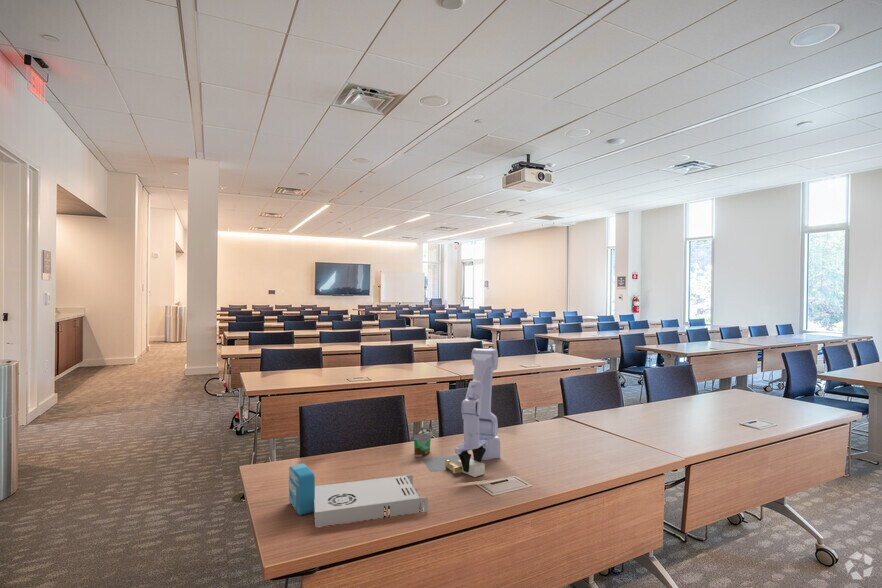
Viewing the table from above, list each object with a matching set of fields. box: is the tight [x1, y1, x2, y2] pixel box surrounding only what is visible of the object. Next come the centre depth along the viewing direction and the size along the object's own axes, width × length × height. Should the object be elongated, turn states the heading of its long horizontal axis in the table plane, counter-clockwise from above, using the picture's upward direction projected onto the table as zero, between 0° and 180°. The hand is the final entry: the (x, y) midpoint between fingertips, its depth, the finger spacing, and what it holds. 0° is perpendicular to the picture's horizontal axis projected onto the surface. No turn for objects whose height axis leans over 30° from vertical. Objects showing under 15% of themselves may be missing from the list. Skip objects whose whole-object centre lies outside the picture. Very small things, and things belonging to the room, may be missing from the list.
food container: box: [413, 426, 433, 458], centre depth 190 cm, size 12×6×10 cm, turn 168°
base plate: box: [421, 454, 460, 473], centre depth 178 cm, size 16×14×1 cm
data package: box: [288, 463, 316, 516], centre depth 143 cm, size 12×4×12 cm, turn 33°
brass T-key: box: [445, 459, 463, 474], centre depth 170 cm, size 8×3×3 cm, turn 31°
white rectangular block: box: [458, 458, 486, 478], centre depth 168 cm, size 5×9×4 cm, turn 40°
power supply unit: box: [313, 474, 429, 528], centre depth 144 cm, size 19×33×5 cm, turn 107°
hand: (471, 469), depth 168 cm, fingers closed on white rectangular block, 5 cm apart
